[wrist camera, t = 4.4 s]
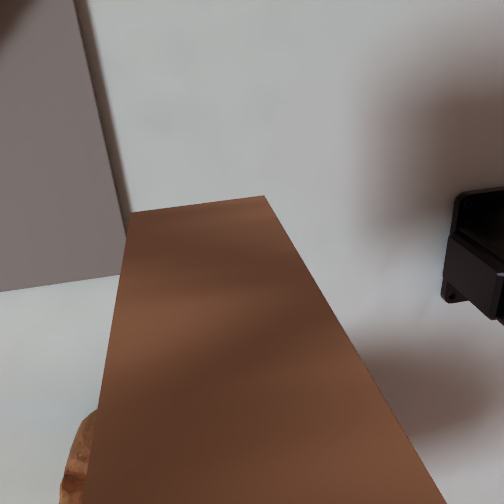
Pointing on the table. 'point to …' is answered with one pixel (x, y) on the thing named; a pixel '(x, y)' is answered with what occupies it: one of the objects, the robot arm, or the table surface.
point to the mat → (52, 154)
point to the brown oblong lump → (78, 463)
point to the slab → (237, 376)
